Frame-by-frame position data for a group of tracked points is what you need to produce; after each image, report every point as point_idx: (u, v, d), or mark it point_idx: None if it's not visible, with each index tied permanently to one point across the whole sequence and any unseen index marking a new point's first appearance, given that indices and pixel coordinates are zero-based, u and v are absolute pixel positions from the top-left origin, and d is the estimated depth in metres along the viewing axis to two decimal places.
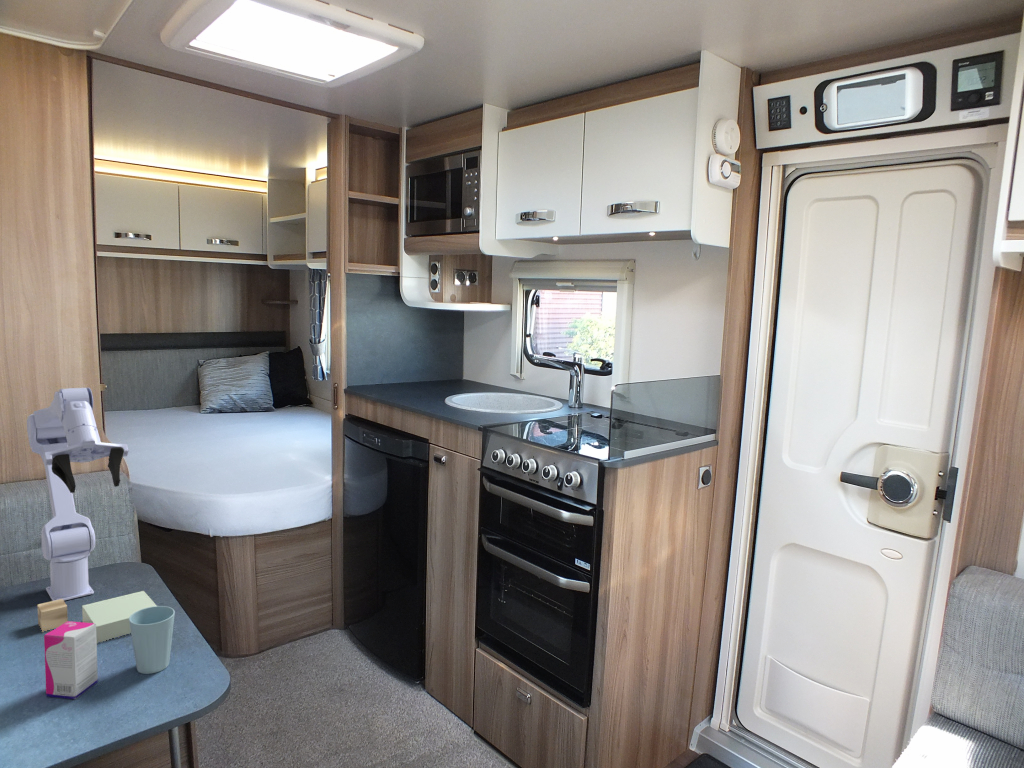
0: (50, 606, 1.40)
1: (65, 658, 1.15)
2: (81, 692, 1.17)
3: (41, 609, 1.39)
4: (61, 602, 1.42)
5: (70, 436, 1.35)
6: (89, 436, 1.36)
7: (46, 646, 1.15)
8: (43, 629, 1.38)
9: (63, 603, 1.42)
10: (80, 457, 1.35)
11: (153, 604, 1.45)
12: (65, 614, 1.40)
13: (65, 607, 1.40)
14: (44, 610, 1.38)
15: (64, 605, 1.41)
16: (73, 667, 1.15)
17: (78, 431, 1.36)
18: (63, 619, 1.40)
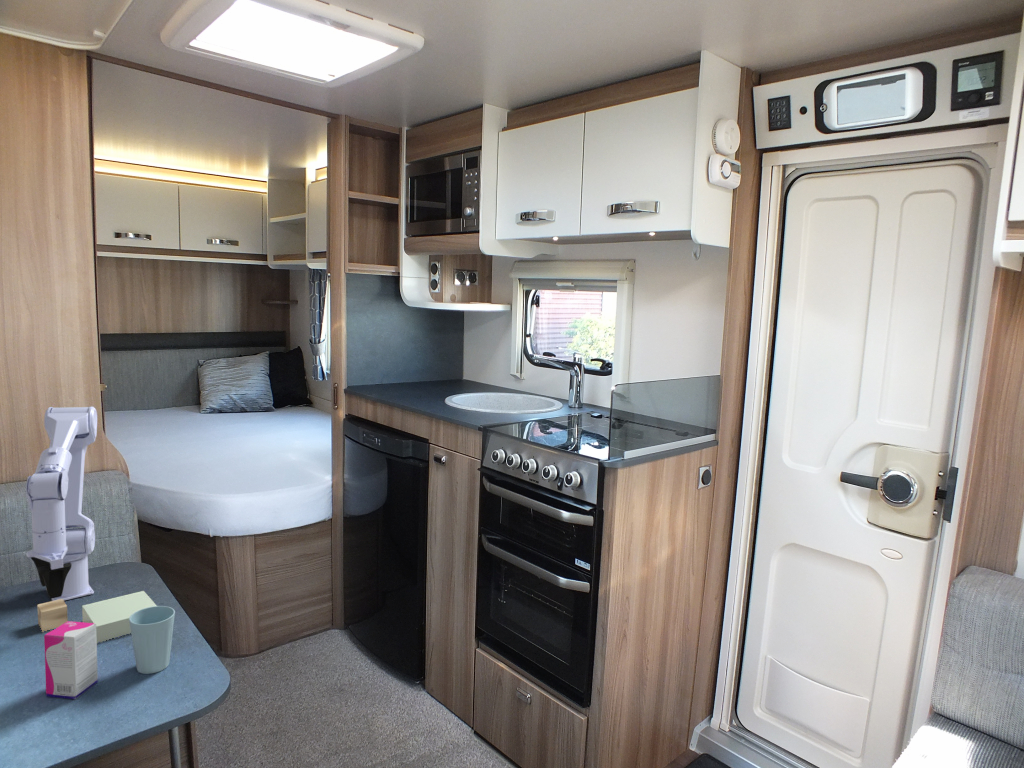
0: (50, 606, 1.40)
1: (65, 658, 1.15)
2: (81, 692, 1.17)
3: (41, 609, 1.38)
4: (61, 602, 1.42)
5: None
6: (33, 546, 1.37)
7: (46, 646, 1.16)
8: (43, 629, 1.38)
9: (63, 603, 1.42)
10: None
11: (153, 604, 1.45)
12: (65, 614, 1.40)
13: (65, 607, 1.40)
14: (44, 611, 1.38)
15: (64, 605, 1.41)
16: (73, 667, 1.15)
17: None
18: (63, 619, 1.40)
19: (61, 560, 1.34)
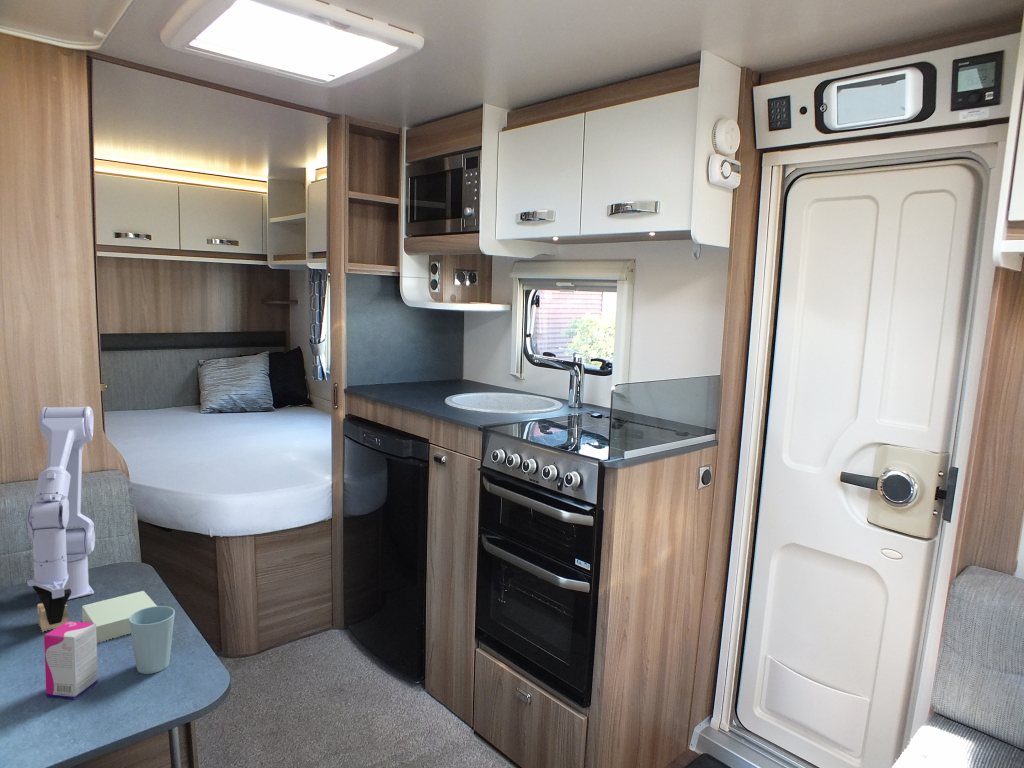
0: None
1: (65, 658, 1.15)
2: (81, 692, 1.17)
3: (41, 609, 1.38)
4: None
5: None
6: (34, 574, 1.37)
7: (46, 646, 1.15)
8: (43, 629, 1.38)
9: None
10: None
11: (153, 604, 1.45)
12: (65, 614, 1.40)
13: (65, 606, 1.40)
14: (44, 610, 1.38)
15: None
16: (73, 667, 1.15)
17: None
18: (63, 618, 1.40)
19: (62, 589, 1.35)
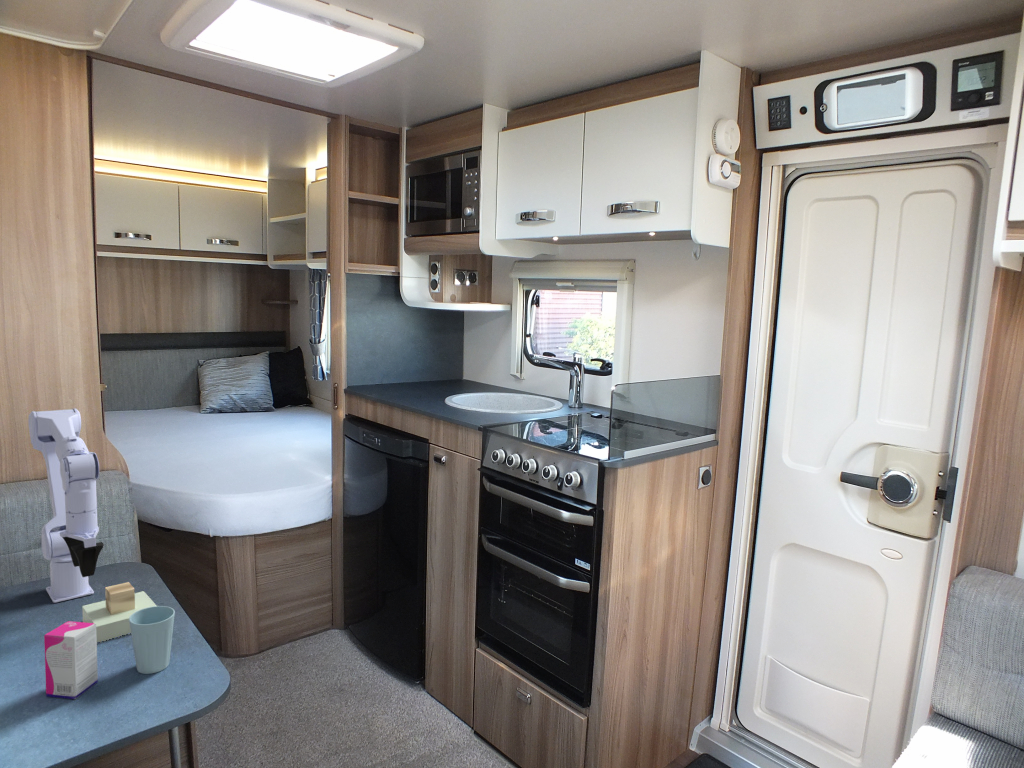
0: (118, 589, 1.41)
1: (65, 658, 1.15)
2: (81, 692, 1.17)
3: (110, 591, 1.40)
4: (128, 585, 1.43)
5: None
6: (66, 526, 1.41)
7: (46, 646, 1.15)
8: (112, 611, 1.39)
9: (130, 586, 1.43)
10: None
11: (153, 604, 1.45)
12: (132, 597, 1.42)
13: (132, 590, 1.42)
14: (113, 593, 1.39)
15: (131, 588, 1.42)
16: (73, 667, 1.15)
17: None
18: (131, 601, 1.42)
19: (94, 539, 1.39)
